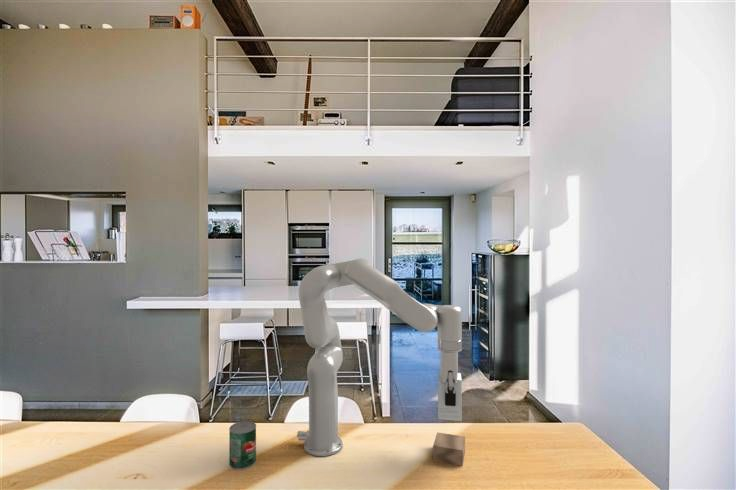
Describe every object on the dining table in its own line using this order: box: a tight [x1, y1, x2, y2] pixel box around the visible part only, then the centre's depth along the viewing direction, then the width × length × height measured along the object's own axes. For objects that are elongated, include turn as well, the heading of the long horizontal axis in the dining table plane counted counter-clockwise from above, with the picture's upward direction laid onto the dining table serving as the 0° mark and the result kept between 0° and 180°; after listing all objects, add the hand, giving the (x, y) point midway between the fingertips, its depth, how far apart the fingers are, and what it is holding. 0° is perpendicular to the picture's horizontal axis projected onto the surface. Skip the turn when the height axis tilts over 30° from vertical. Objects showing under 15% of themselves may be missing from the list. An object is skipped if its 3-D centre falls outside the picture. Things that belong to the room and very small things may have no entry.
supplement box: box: [437, 371, 463, 422], centre depth 125 cm, size 7×7×13 cm
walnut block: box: [432, 432, 466, 467], centre depth 125 cm, size 9×9×5 cm
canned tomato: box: [228, 420, 257, 471], centre depth 121 cm, size 8×8×11 cm
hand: (449, 399), depth 125 cm, fingers closed on supplement box, 7 cm apart
